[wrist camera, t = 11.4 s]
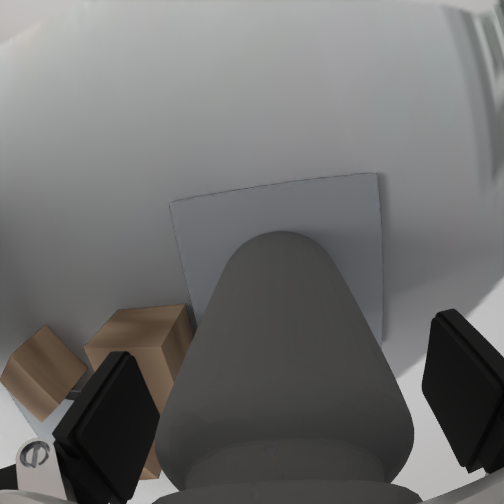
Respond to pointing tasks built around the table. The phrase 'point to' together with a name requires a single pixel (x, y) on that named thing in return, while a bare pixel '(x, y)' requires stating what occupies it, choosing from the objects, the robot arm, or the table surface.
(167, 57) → the table surface
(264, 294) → the bottle
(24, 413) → the pad two
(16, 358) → the block
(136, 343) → the block
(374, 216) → the pad three
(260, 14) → the table surface
